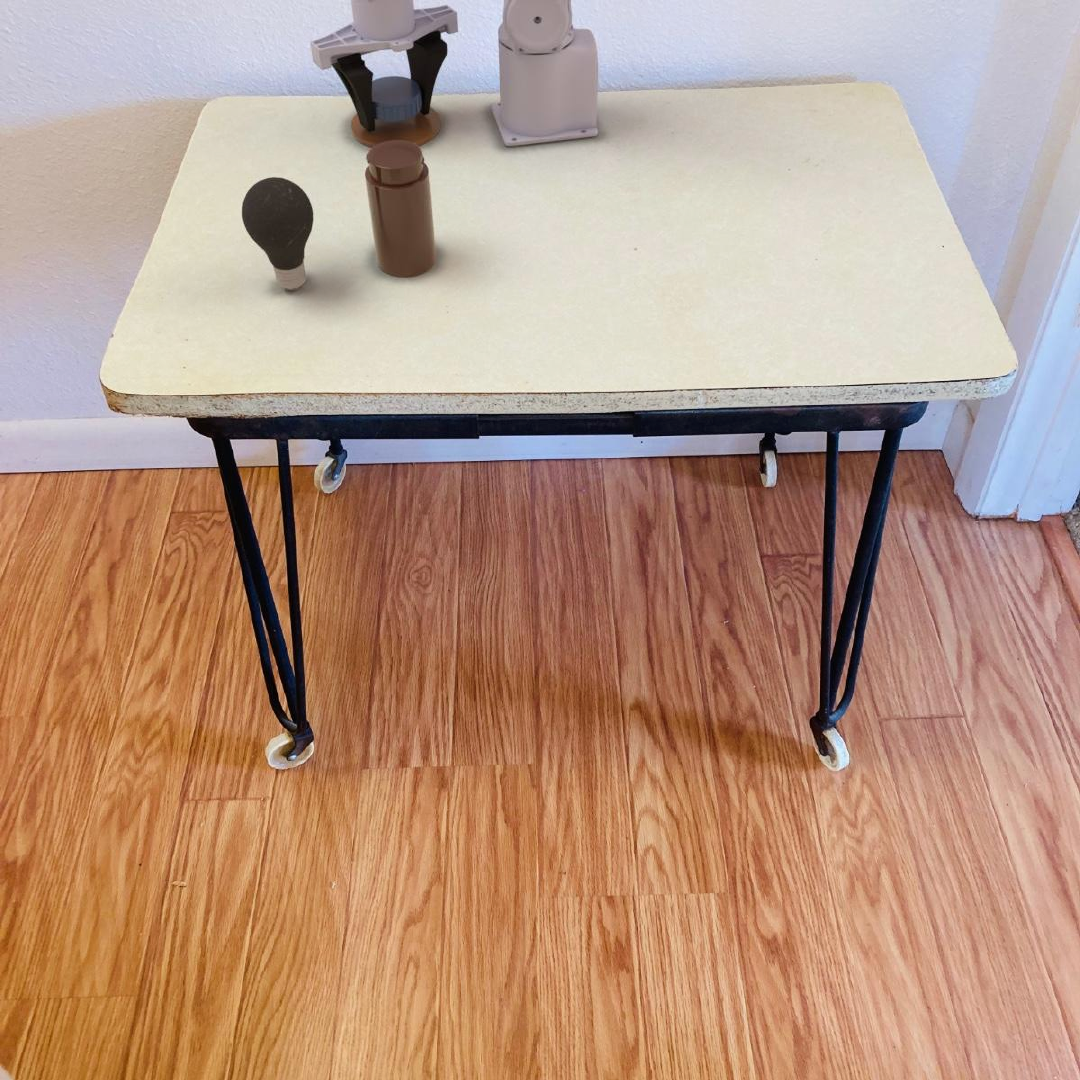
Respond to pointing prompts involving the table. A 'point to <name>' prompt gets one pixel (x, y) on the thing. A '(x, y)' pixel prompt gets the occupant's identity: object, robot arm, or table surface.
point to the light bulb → (280, 226)
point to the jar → (400, 208)
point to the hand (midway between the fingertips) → (394, 118)
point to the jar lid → (395, 98)
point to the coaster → (399, 129)
